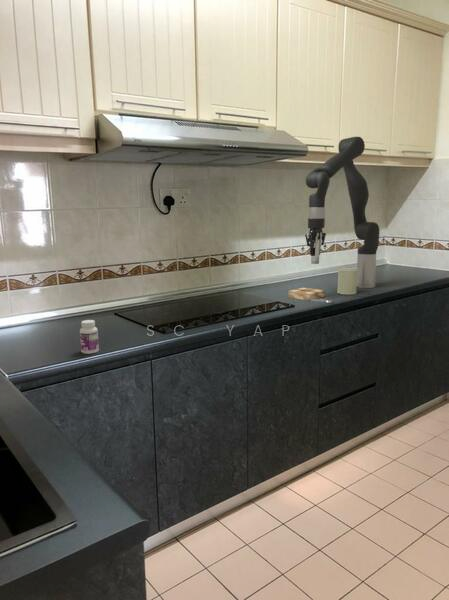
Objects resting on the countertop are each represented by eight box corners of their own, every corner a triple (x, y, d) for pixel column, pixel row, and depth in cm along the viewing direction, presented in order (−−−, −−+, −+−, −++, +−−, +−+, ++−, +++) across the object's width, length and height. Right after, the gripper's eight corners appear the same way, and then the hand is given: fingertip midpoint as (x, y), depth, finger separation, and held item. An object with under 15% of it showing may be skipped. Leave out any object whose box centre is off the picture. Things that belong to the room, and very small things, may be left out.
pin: (313, 262, 225) (314, 239, 223) (320, 263, 223) (321, 239, 221) (309, 263, 223) (310, 239, 221) (316, 264, 220) (317, 239, 218)
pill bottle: (77, 351, 150) (75, 321, 148) (92, 347, 154) (90, 318, 152) (87, 355, 146) (85, 324, 144) (102, 351, 150) (100, 320, 148)
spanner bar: (309, 300, 219) (309, 298, 219) (313, 299, 221) (313, 297, 221) (329, 303, 212) (329, 301, 212) (333, 302, 214) (333, 300, 214)
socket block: (303, 293, 236) (303, 287, 235) (324, 296, 228) (324, 290, 227) (288, 297, 227) (288, 290, 227) (309, 300, 219) (309, 294, 219)
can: (357, 294, 231) (358, 269, 228) (337, 294, 232) (338, 269, 230) (356, 291, 239) (356, 267, 237) (336, 290, 241) (337, 267, 239)
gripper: (317, 217, 226) (316, 253, 230) (300, 217, 216) (299, 256, 220) (331, 217, 221) (330, 254, 225) (314, 218, 211) (313, 257, 215)
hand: (315, 255), depth 222 cm, fingers closed on pin, 3 cm apart
